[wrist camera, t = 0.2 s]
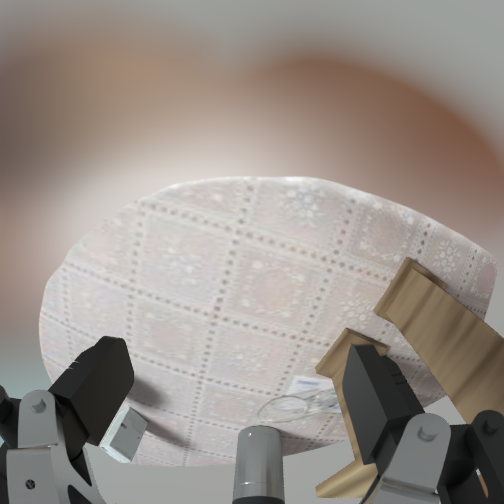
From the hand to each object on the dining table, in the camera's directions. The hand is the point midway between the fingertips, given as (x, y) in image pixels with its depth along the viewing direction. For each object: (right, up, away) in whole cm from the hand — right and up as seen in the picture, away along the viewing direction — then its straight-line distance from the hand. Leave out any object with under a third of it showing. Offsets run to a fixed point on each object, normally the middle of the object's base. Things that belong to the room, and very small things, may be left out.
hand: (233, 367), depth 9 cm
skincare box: (-26, -33, +40) cm, 58 cm away
